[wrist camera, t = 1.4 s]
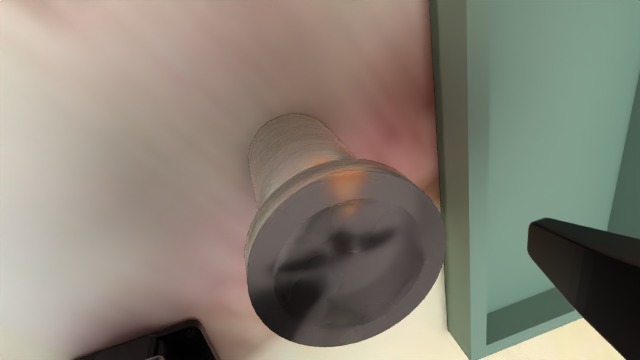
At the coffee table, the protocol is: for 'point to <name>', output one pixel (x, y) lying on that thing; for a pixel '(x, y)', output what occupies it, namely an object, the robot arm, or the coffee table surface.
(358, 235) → the grey flanged cylinder
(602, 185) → the tray
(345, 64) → the coffee table surface
